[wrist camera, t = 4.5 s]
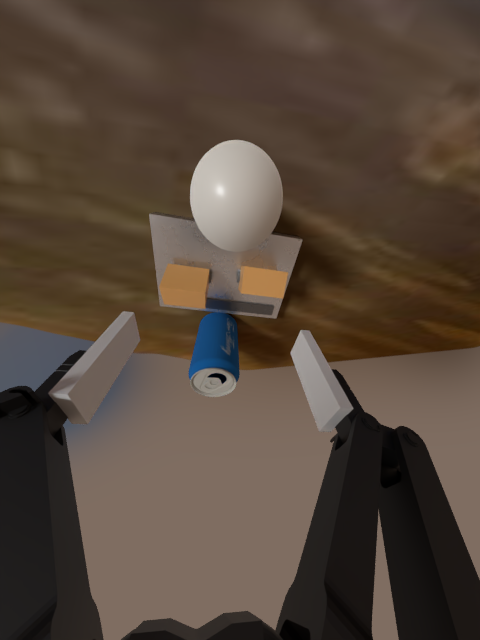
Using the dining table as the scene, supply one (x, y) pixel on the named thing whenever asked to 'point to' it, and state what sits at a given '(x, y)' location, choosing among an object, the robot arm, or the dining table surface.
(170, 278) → the paddle
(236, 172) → the white rounded smooth part
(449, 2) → the dining table surface
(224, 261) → the breaker plate
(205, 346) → the beverage can
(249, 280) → the paddle
